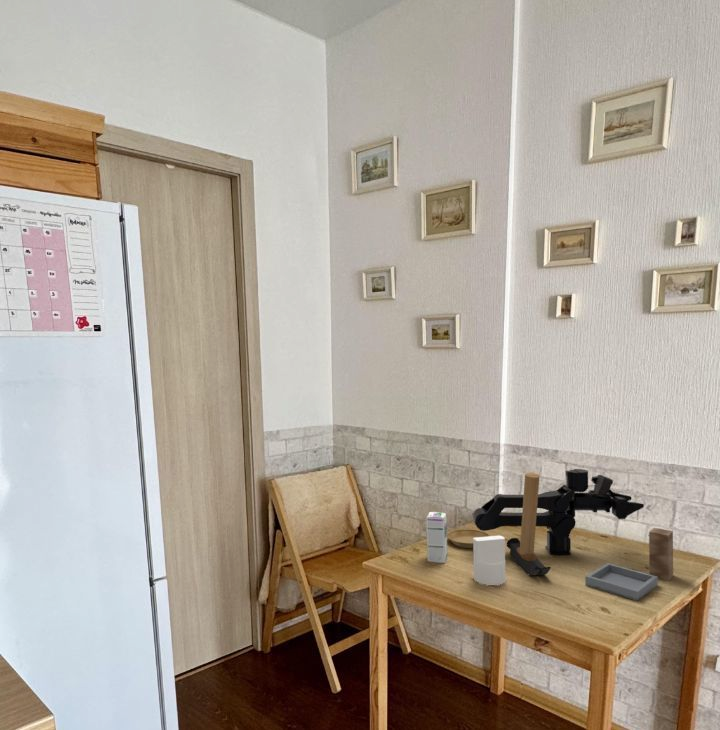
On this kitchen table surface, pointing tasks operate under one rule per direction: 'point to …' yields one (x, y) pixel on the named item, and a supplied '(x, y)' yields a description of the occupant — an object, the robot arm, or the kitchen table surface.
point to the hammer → (528, 530)
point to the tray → (622, 581)
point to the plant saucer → (465, 537)
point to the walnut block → (661, 553)
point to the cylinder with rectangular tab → (489, 560)
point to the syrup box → (436, 537)
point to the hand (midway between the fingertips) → (637, 501)
